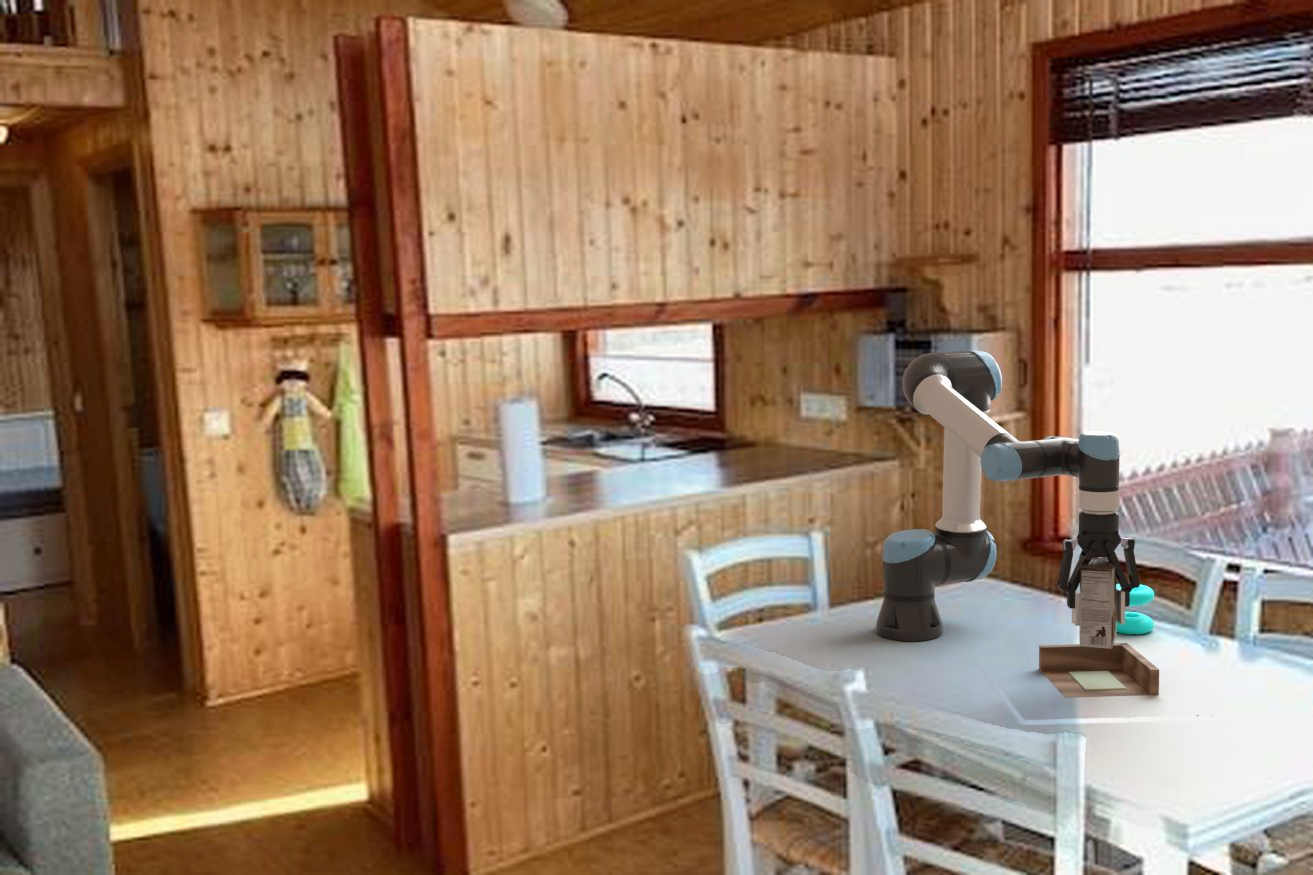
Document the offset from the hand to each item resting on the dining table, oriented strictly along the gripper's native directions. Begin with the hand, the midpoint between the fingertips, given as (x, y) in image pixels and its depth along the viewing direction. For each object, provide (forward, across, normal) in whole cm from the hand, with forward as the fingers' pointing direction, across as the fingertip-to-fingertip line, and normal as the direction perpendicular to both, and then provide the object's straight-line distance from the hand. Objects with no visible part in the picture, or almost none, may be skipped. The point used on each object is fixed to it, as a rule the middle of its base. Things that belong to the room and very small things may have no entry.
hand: (1098, 623), depth 258 cm
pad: (+12, 0, 0) cm, 12 cm away
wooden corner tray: (+13, 0, 0) cm, 13 cm away
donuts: (+13, -20, -38) cm, 45 cm away
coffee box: (+4, 0, 0) cm, 4 cm away
